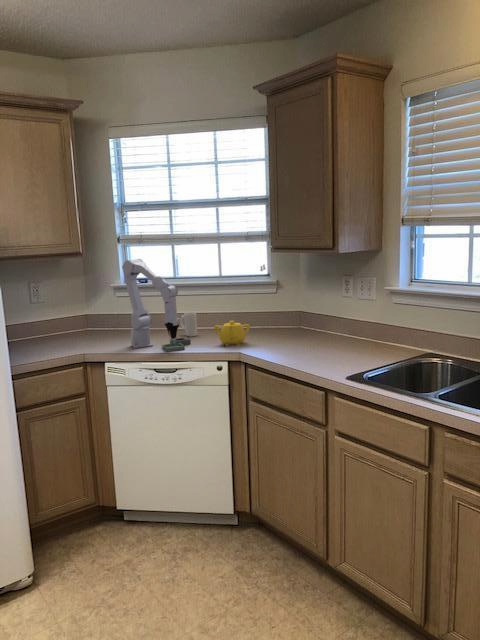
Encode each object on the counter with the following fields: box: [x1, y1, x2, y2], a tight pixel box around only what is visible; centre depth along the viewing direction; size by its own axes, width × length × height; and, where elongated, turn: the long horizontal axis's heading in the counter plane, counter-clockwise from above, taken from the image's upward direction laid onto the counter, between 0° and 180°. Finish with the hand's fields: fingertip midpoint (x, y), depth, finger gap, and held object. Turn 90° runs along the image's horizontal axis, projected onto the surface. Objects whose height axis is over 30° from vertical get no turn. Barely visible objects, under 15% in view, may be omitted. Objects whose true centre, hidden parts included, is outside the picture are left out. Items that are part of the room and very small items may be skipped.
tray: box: [161, 343, 186, 353], centre depth 269 cm, size 9×9×2 cm
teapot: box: [214, 320, 251, 347], centre depth 273 cm, size 14×14×12 cm
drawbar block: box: [176, 336, 192, 346], centre depth 279 cm, size 9×7×2 cm
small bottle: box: [168, 331, 177, 345], centre depth 268 cm, size 3×3×7 cm
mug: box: [179, 312, 198, 337], centre depth 300 cm, size 10×7×12 cm, turn 63°
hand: (172, 337), depth 268 cm, fingers closed on small bottle, 3 cm apart
